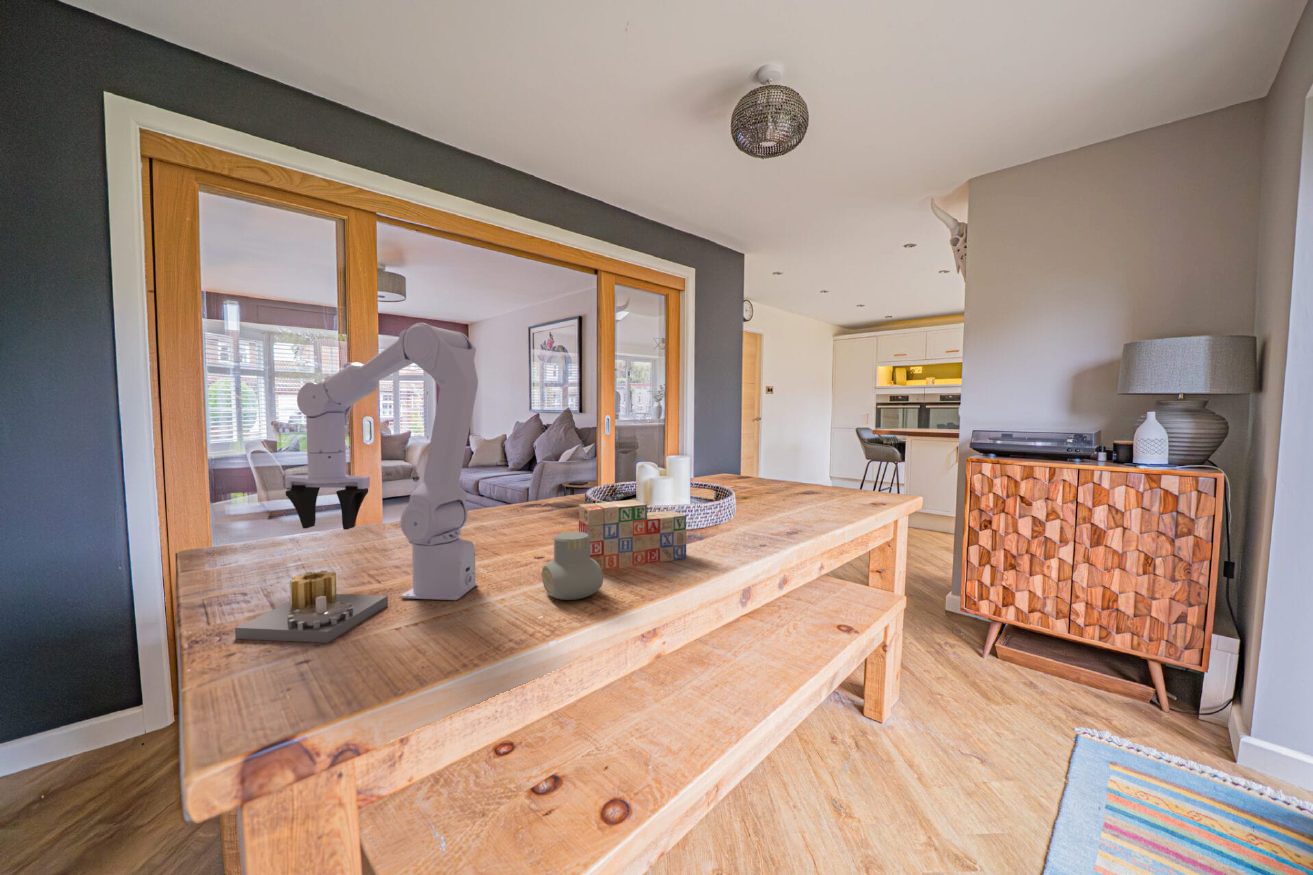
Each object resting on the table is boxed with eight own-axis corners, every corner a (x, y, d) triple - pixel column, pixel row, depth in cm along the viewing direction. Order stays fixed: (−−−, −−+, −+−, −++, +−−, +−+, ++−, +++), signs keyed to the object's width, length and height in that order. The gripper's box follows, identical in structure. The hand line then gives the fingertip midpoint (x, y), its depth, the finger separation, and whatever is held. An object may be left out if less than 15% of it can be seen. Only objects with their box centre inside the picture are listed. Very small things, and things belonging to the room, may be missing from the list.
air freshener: (539, 588, 88) (539, 531, 87) (584, 581, 92) (584, 526, 91) (557, 610, 78) (557, 546, 78) (607, 601, 82) (607, 540, 81)
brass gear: (344, 595, 79) (343, 570, 79) (322, 609, 74) (321, 582, 73) (306, 596, 79) (305, 570, 79) (281, 610, 73) (280, 583, 73)
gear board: (387, 605, 79) (387, 576, 79) (327, 642, 66) (326, 609, 66) (309, 602, 80) (308, 574, 80) (235, 638, 67) (234, 605, 67)
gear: (365, 609, 74) (365, 602, 74) (327, 631, 66) (327, 624, 66) (316, 607, 75) (315, 600, 74) (273, 629, 67) (272, 621, 67)
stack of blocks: (673, 551, 111) (673, 496, 111) (686, 559, 106) (687, 500, 105) (578, 563, 102) (578, 503, 101) (588, 573, 96) (588, 508, 96)
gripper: (379, 450, 93) (381, 523, 94) (305, 449, 95) (307, 521, 95) (354, 454, 86) (355, 532, 87) (274, 452, 88) (276, 530, 88)
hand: (328, 527), depth 91 cm, fingers open, 7 cm apart
